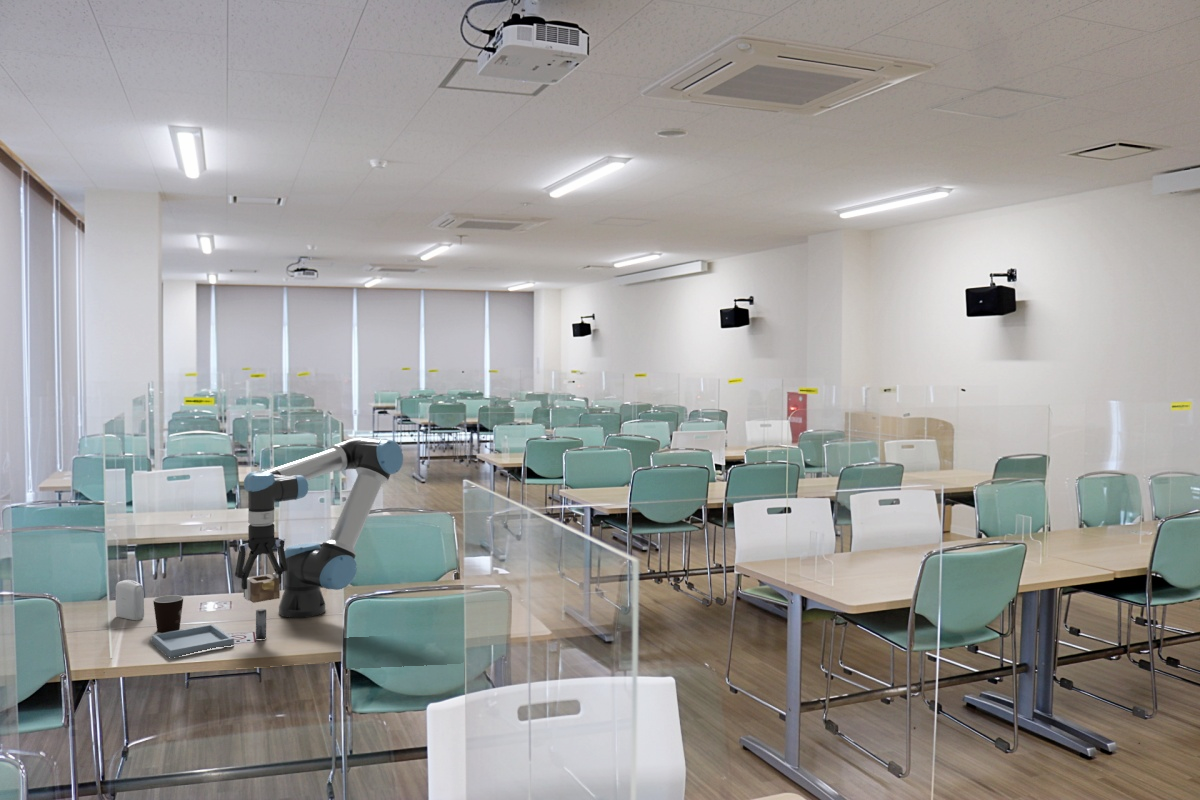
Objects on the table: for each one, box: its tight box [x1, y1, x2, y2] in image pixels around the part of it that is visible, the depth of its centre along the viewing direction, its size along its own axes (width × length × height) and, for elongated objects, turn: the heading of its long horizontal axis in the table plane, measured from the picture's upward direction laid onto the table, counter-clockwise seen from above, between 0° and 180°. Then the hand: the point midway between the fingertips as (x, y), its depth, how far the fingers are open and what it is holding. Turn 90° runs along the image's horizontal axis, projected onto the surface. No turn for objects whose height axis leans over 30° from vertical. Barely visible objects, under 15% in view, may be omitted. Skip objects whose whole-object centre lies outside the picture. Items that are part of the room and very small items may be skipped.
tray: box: [151, 623, 235, 659], centre depth 277 cm, size 18×18×2 cm
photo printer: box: [114, 579, 145, 621], centre depth 301 cm, size 10×4×12 cm, turn 63°
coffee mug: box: [152, 594, 184, 634], centre depth 291 cm, size 12×9×10 cm
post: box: [255, 608, 267, 640], centre depth 283 cm, size 3×3×9 cm
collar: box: [243, 573, 281, 604], centre depth 282 cm, size 8×10×6 cm
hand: (261, 596), depth 283 cm, fingers closed on collar, 8 cm apart
